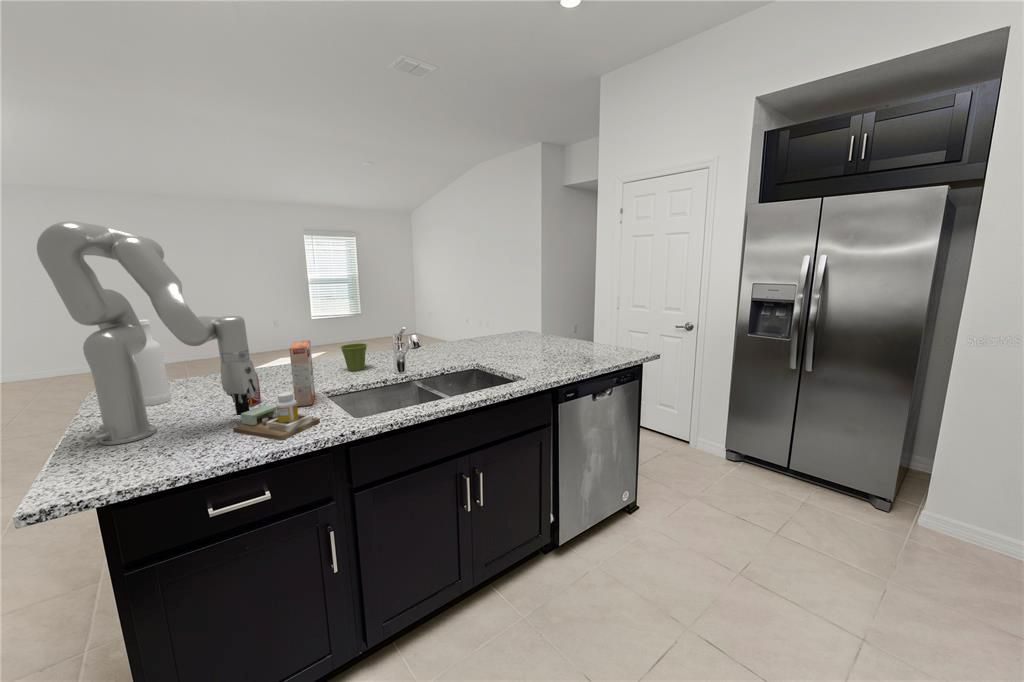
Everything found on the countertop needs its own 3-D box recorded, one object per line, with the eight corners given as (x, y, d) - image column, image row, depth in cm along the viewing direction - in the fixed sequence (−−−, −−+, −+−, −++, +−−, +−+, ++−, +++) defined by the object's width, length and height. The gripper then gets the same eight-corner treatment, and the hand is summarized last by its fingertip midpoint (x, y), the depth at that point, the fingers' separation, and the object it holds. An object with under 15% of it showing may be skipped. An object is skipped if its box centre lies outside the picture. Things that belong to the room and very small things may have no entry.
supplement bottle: (294, 420, 130) (290, 390, 128) (302, 424, 127) (298, 393, 125) (275, 425, 126) (271, 394, 124) (283, 430, 123) (279, 398, 121)
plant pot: (363, 365, 204) (361, 342, 202) (373, 369, 195) (371, 345, 193) (338, 369, 197) (336, 345, 194) (347, 374, 188) (345, 349, 185)
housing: (254, 425, 126) (252, 415, 125) (242, 423, 128) (240, 413, 127) (277, 416, 133) (276, 406, 133) (265, 414, 135) (264, 405, 134)
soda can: (250, 408, 146) (245, 374, 144) (233, 406, 147) (228, 373, 145) (266, 401, 153) (261, 368, 150) (249, 400, 154) (244, 368, 152)
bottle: (136, 405, 151) (120, 321, 145) (159, 398, 158) (145, 318, 153) (154, 406, 149) (138, 321, 143) (176, 399, 157) (162, 318, 151)
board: (281, 440, 119) (280, 429, 118) (233, 431, 125) (231, 421, 125) (320, 422, 131) (318, 412, 131) (274, 415, 138) (273, 406, 137)
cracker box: (314, 405, 147) (307, 346, 143) (295, 407, 145) (287, 347, 141) (316, 394, 160) (310, 339, 156) (298, 396, 158) (292, 340, 154)
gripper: (264, 355, 130) (271, 412, 134) (229, 352, 135) (237, 407, 139) (241, 361, 123) (249, 421, 127) (205, 358, 128) (214, 415, 132)
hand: (243, 413), depth 133 cm, fingers closed
